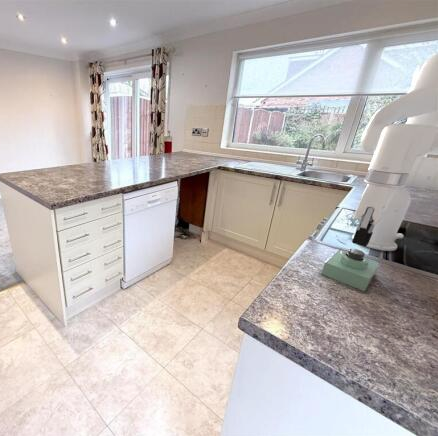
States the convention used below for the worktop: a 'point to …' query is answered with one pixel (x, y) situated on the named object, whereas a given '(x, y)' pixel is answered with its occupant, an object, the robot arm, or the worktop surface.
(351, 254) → the grey metal rounded piece
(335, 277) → the green stepped base
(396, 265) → the worktop surface
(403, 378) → the worktop surface
